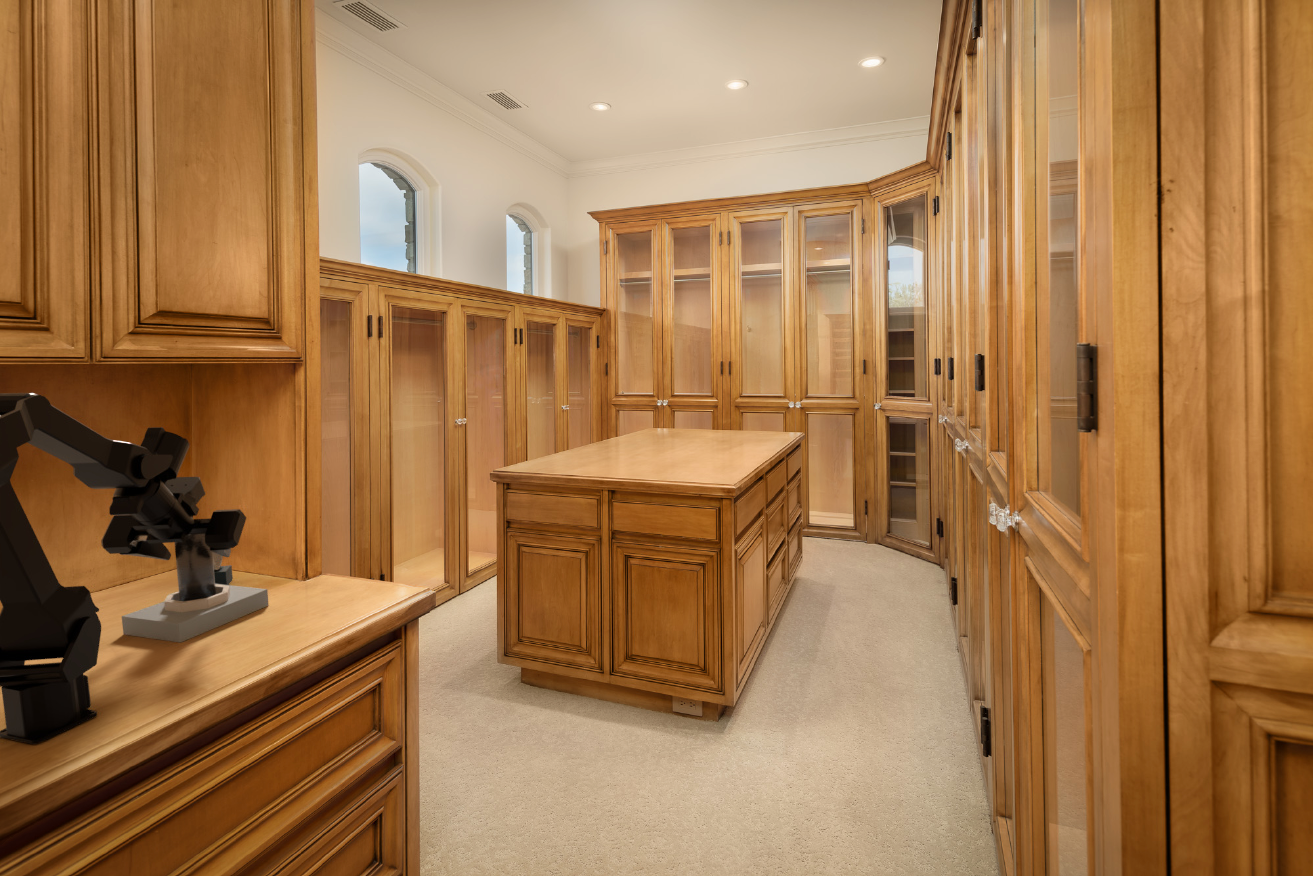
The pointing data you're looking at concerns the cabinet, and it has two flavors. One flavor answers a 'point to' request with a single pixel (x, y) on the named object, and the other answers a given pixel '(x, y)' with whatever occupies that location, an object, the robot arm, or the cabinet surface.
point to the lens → (194, 568)
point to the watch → (221, 570)
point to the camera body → (194, 613)
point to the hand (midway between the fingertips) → (199, 556)
